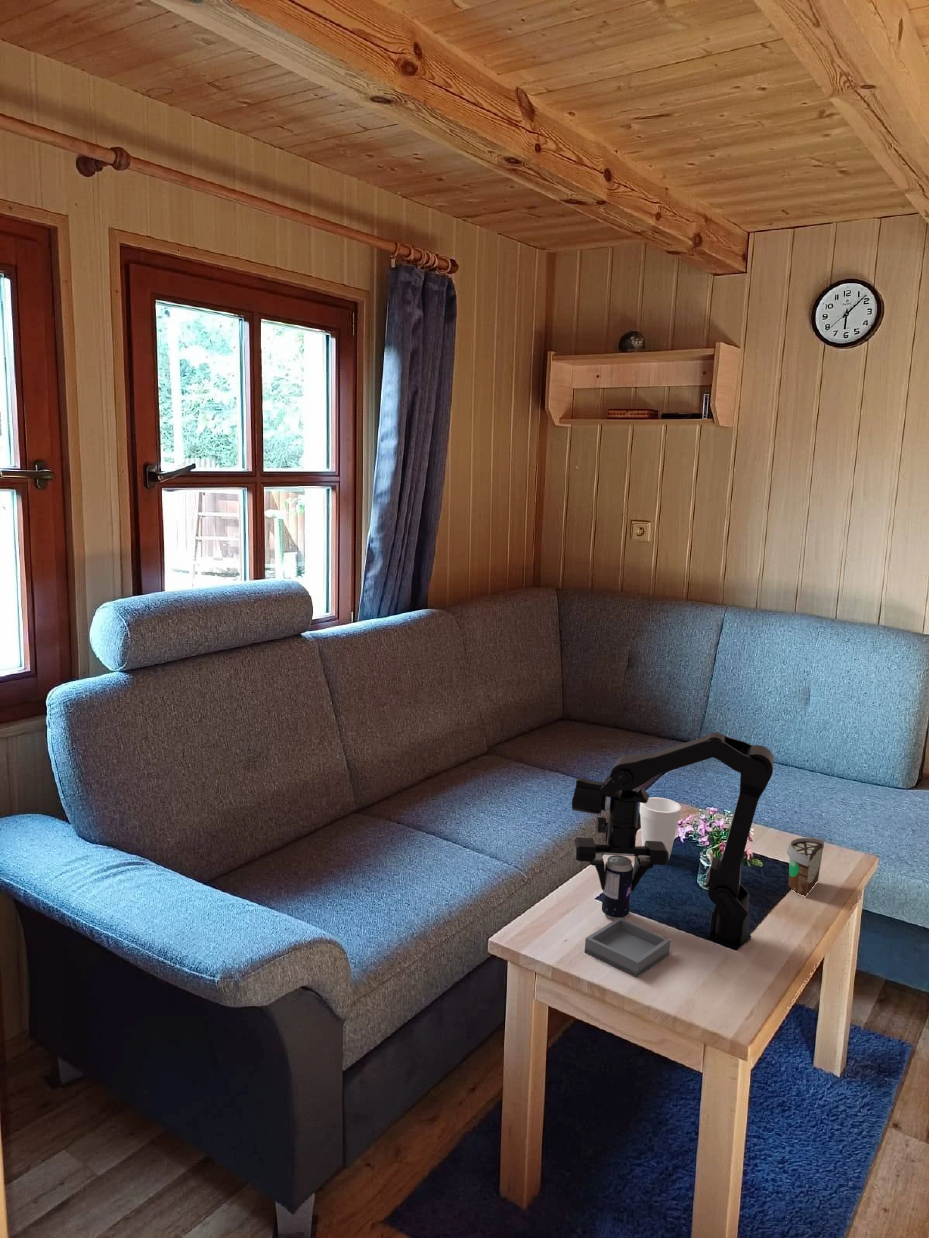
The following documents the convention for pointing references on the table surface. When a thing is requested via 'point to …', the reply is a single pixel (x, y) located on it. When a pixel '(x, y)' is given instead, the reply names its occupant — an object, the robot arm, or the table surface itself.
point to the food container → (804, 863)
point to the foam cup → (659, 821)
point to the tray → (627, 947)
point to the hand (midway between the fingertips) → (617, 889)
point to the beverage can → (617, 887)
